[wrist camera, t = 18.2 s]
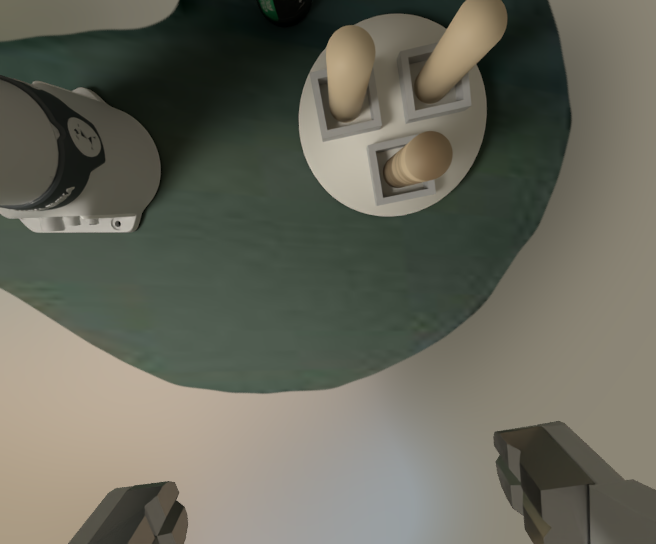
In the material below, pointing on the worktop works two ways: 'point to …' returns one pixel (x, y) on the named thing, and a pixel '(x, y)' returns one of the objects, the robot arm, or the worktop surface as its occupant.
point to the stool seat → (397, 103)
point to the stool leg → (419, 160)
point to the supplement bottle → (284, 11)
